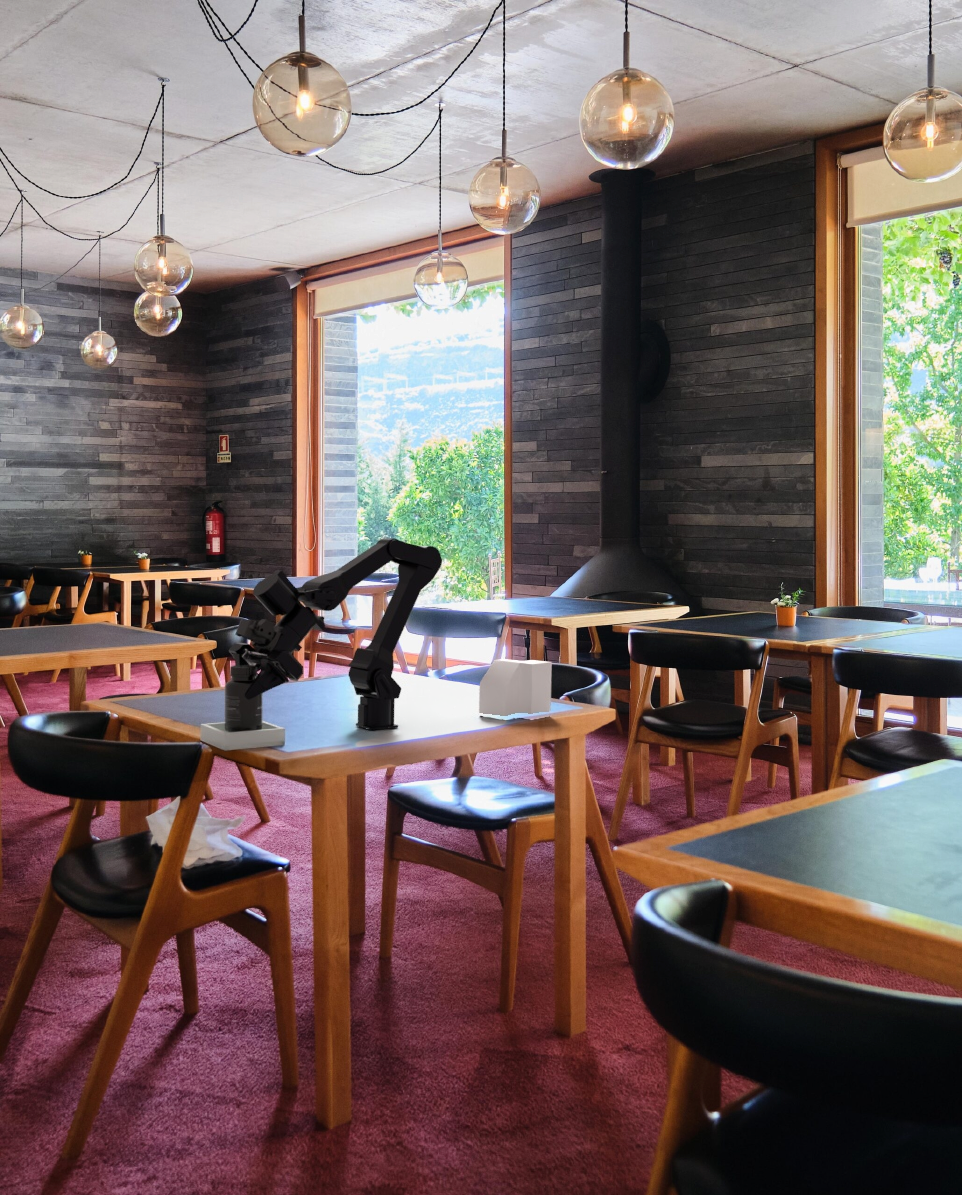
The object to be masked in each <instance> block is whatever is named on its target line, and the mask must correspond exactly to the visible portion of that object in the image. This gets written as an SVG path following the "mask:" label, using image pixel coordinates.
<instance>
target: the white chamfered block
mask: <svg viewBox="0 0 962 1195" xmlns="http://www.w3.org/2000/svg"><path fill="white" fill-rule="evenodd" d="M552 663H553V662H552V661H544V660H537V659H536V660H535V659H529V660H517V659H509V658H508V659H507V658H500V659H494V660H493V661H492V663H491V665H490V666H489V668H488V669H487V670H486V672H485V674H484V675H483V677H482V679H481V680H480V682H479V693H478V694H479V701H478V702H479V703H478V706H479V707H478V714H479V713H483V714H492V715H500V716H508V715H511V714H515V713H528V714H533V713H539V712H549V711H551V705H552V672H553V671H552V667H553V666H552V665H553V664H552Z"/></svg>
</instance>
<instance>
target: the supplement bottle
mask: <svg viewBox="0 0 962 1195" xmlns="http://www.w3.org/2000/svg"><path fill="white" fill-rule="evenodd" d="M229 668H230V673H229V676H230V679H231V677H232V679H231V680H228V681H227V682H226V683H225V685H224V722H225V730H226V731H227V732H241V731H253V730H261V729H262V721H263V699H264V698H263V694H264V693H262V694H260V695H258V696H256V697H254V698H252V699H250V700H248V699H247V698H246V697H245V694H246V692H247V691H248V689H249V687H250V686H251V684H252V683H253V681H254V680H255V678H256V676H257V673H258V672H257V666H254V665H231V666H230V667H229Z"/></svg>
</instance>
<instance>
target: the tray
mask: <svg viewBox="0 0 962 1195" xmlns="http://www.w3.org/2000/svg"><path fill="white" fill-rule="evenodd" d="M200 741H202V742H204V743H206V744H208V745H210V746H213V747H215V748H218V749H220V750H222V751H225V752H226V751H233V750H234V751H235V750H245V749H255V748H256V749H257V748H267V747H275V746H276V747H277V746H285V745H286V728H285V727H282V726H279V725H276V724H273V723H270V722H267V721H265V720H262V729H261V730H253V731H241V732H227V731H226V730H225V721H223V722H213V723H211V722H210V723H209V722H208V723H200Z"/></svg>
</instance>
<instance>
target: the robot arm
mask: <svg viewBox="0 0 962 1195" xmlns="http://www.w3.org/2000/svg"><path fill="white" fill-rule="evenodd" d="M390 562H393V564H397V565H398V566H397V570H398V572H397V575H398V582H397V584H396V586H395V589H394V592H393V593H392V595H391V598H390V599H389V602H388V604H387V607H386V609H385V611H384V613H383V615H382V617H381V619H380V622H379V625H378V627H377V629H376V631H375V634H374V636H373V637H372V640H371V642H370V643H369V645H367V646H366V647H364V648H360V647H357V648H356V649H355V651H354V654H353V658H352V660H351V662H349V663H348V664H347V665H348V667H349V670H348V677H349V681H350V683H351V685H352V686H353V689H354V692H355V695H356V696H359V703H358V705H357V722H356V723H355V726H357V727H359V728H363V729H366V730H369V731H375V730H384V729H385V730H387V729H396V728H399V725H398V724H395V700H396V699H399V698H400V695H401V691H402V687H401V686H400V685H399V684H398V682H397V681H396V680H395V679H394V678H393V677H392V675H393V671H394V669H395V668H394V667H395V666H394V664H395V663H394V651H395V649H396V647H397V645H398V643H399V640H400V638H401V636H402V634H403V632H404V629H405V627H406V625H407V623H408V621H409V620H408V619H409V618H410V616H411V613H412V611H413V609H414V606H415V604H416V602H417V600H418V597H419V595H420V593H421V591H422V590H423V589H424V588H426V587H427V585H429V583H431V582H432V581H433V580H434V578H435V577H436V576H437V574H438V572H439V571H440V569H441V567H442V563H443V558H442V556H441V553H440V551H439V549H438V548H437V547H435V546H432V545H418V544H417V545H416V544H412V543H409V542H405V541H402V540H399V539H398V538H385V537H383V538H381V539H379V540H378V541H377V542H376V543H375V544H374V545H372V546H370V547H369V548H368V549H366V550H365V551H363V552H362V553H360V554H359V555H357V556H356V557H353V559H351V560H350V561H348V562H347V563H345V564H344V565H342V566H341V567H339V568H338V569H336V570H334V571H332V572H328V573H326V574H321V575H319V576H317V577H314V578H311V579H309V580H307V581H306V582H304V584H302V585H301V586H298V587H295V585H294V584H293V583H292V582H291V581H290V580H289V578H288V577H287V575H286V574H285V572H284V571H283V570H275V571H274V572H273V573H272V574H269V575H268V576H266V577H265V578H263V579H262V580H260V581H259V582H257V584H256V585H255V586H254V588H253V591H252V595H253V596H255V598H256V599H257V600H258V601H259V602H260V604H262V606H264V608H265V609H266V610H267V611H268V612H269V613H270V614H271V616H275V617H277V616H281V618H280V620H278V621H277V623H276V624H275V625H274V622H273V621H271V620H269V619H266V618H265V619H264V618H261V619H260V620H259V621H256V620H252V619H247V618H246V619H245V618H241V619H240V621H239V624H238V626H237V629H236V631H235V636H237V637H240V638H241V637H242V638H244V639H246V640H248V641H251V643H250V644H249V643H245V642H234V643H233V645H231V646H230V648H229V649H228V653H230V655H231V656H232V658H233V659H234V664H235V665H254V666H257V676H256V678H255V680H254V681H253V683H252V684H251V686H250V687H249V689H248V691H247V692H246V694H245V697H246V698H247V699H248V700H250V699H252V698H254V697H256V696H258V695H260V694H262V693H263V694H264V693H265V692H266V693H267V691H269V690H272V689H275V688H277V687H278V686H282V685H283V684H285V683H286V684H288V683H289V682H290V681H294V682H299V680H300V679H301V678H302V676H303V675H304V666H303V664H301V662H299V660H298V659H297V658H296V657H295V656H294V655H293V653H294V651H295V652H300V651H301V650H302V648H303V647H302V645H301V643H302V642H303V640H304V639H305V638H306V637H307V635H308V634H309V633H310V632H311V631H312V630H315V631H323V632H324V631H325V630H326V624H325V616H324V615H323V616H321V615H318V614H317V613H316V612H314V610H316V611H325V612H331V611H333V610H335V609H336V608H338V606H340V605H341V603H343V601H344V600H345V599H346V598H347V597H348V595H349V592H350V591H351V590H352V589H353V588H354V587H356V586H357V585H358V584H360V583H361V582H363V580H366V579H367V578H368V577H369V576H371V575H372V574H374V573H376V572H378V570H380V569H382V568H383V567H384V566H386V565H387V564H388V563H390ZM235 665H234V666H235ZM258 672H259V673H258ZM231 679H232V677H231V676H230V680H231ZM230 680H229V681H230Z"/></svg>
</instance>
